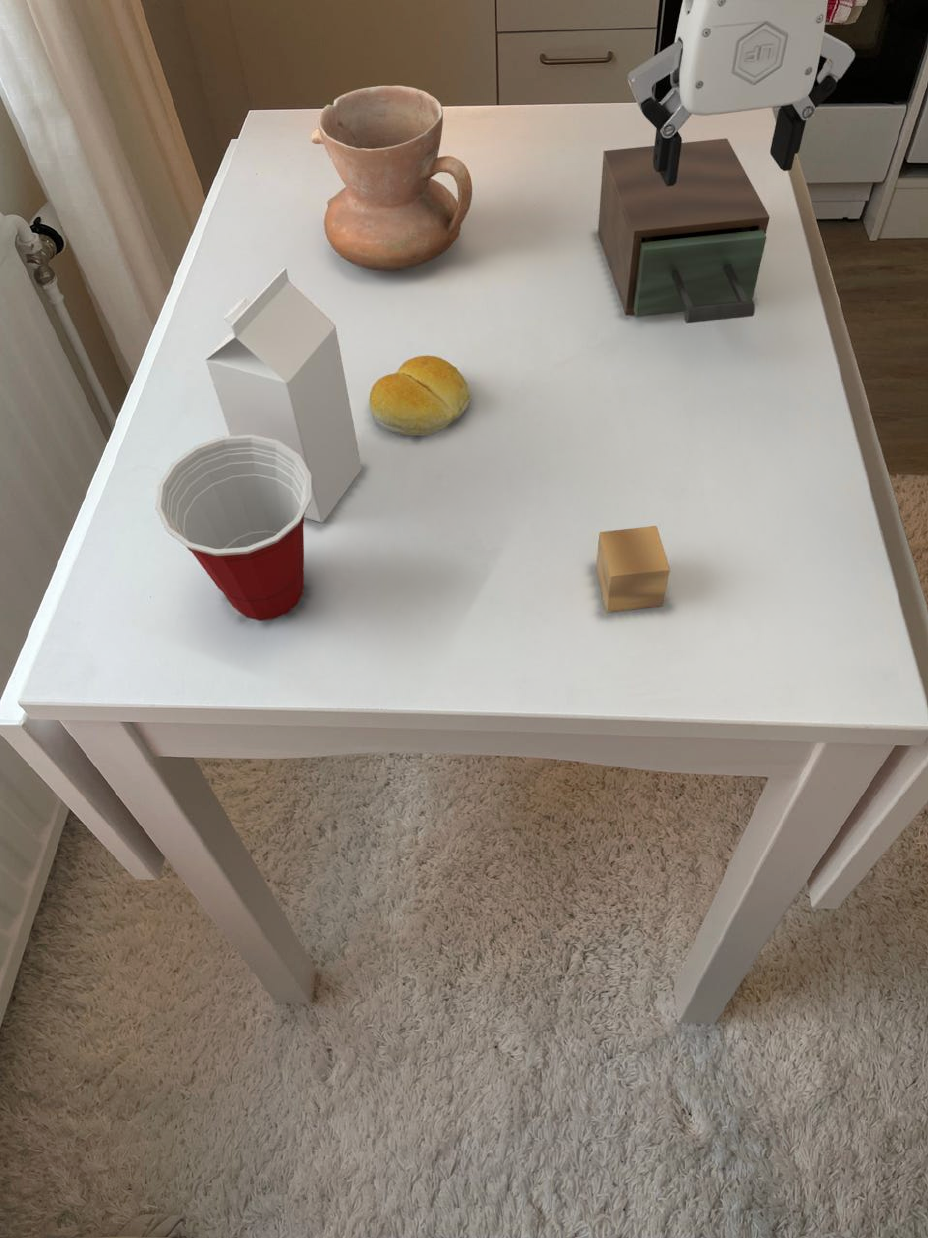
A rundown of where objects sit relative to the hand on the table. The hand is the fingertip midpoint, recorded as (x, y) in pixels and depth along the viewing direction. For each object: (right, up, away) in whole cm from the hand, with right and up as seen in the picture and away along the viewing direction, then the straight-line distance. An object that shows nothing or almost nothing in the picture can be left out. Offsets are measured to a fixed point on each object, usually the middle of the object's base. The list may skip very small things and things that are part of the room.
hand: (723, 169), depth 78 cm
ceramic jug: (-28, +3, +25) cm, 38 cm away
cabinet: (0, 0, +21) cm, 21 cm away
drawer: (+1, -4, +16) cm, 17 cm away
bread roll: (-25, -17, +10) cm, 32 cm away
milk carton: (-35, -25, +4) cm, 43 cm away
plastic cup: (-37, -35, -3) cm, 51 cm away
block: (-8, -34, -4) cm, 36 cm away
